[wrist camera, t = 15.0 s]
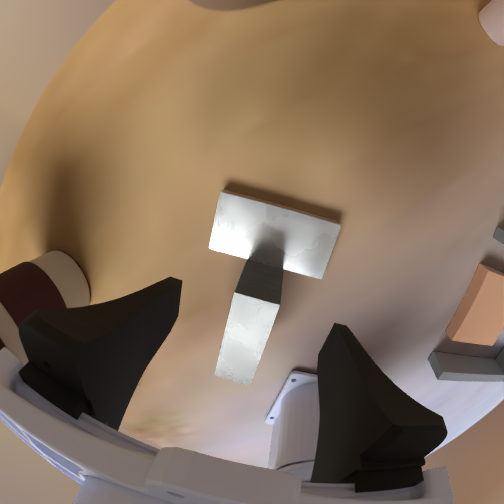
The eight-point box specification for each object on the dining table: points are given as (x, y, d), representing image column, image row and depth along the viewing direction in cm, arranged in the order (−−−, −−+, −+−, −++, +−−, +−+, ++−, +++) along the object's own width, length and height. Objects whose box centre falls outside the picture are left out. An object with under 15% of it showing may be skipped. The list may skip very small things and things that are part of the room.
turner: (290, 344, 22) (288, 393, 17) (199, 318, 22) (176, 362, 17) (338, 221, 18) (356, 251, 13) (223, 189, 18) (197, 207, 13)
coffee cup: (32, 230, 22) (-72, 292, 8) (94, 244, 21) (-36, 339, 7) (49, 307, 26) (-28, 380, 12) (109, 332, 25) (28, 434, 11)
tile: (484, 334, 20) (492, 345, 18) (443, 327, 20) (451, 340, 18) (514, 276, 17) (525, 285, 15) (476, 260, 17) (488, 270, 15)
